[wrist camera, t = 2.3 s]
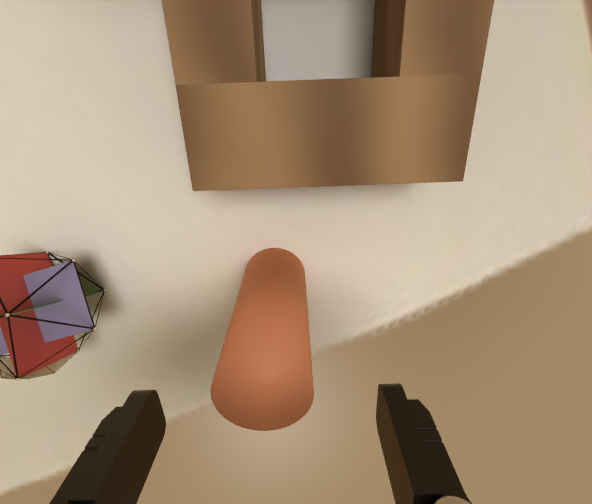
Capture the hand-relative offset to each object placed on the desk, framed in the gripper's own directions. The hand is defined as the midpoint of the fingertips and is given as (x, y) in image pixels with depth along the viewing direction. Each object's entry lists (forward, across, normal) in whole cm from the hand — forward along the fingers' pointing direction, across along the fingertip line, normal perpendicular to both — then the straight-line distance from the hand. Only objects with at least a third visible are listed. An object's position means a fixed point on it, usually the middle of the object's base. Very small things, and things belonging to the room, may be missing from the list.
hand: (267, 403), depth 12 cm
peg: (+11, 0, 0) cm, 11 cm away
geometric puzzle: (+11, +14, 0) cm, 18 cm away
